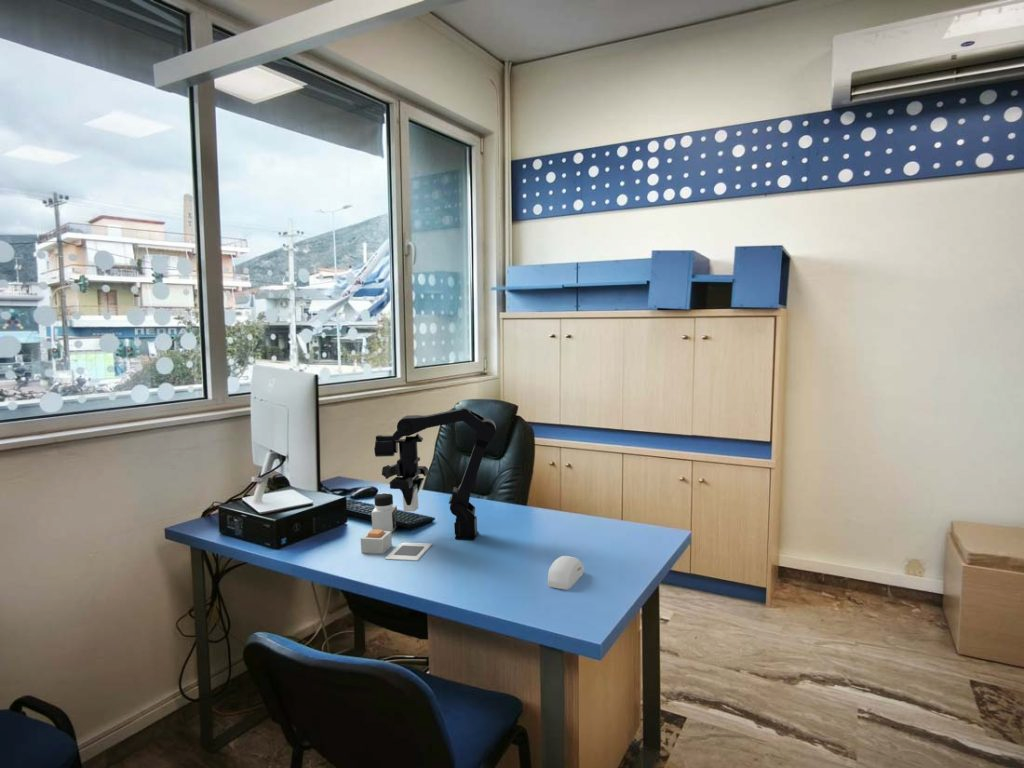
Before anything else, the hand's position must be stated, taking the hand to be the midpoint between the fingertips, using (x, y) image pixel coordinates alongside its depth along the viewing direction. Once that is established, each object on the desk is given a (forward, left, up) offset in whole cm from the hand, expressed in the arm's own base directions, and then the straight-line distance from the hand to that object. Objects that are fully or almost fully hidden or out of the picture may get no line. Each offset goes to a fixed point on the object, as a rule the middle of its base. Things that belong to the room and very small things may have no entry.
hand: (410, 503), depth 196 cm
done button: (+8, +10, -9) cm, 15 cm away
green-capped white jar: (0, 0, -2) cm, 2 cm away
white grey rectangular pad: (-3, +11, -12) cm, 16 cm away
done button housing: (+8, +10, -12) cm, 17 cm away
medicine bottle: (+13, -8, -12) cm, 19 cm away
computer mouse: (-53, +24, -12) cm, 59 cm away
